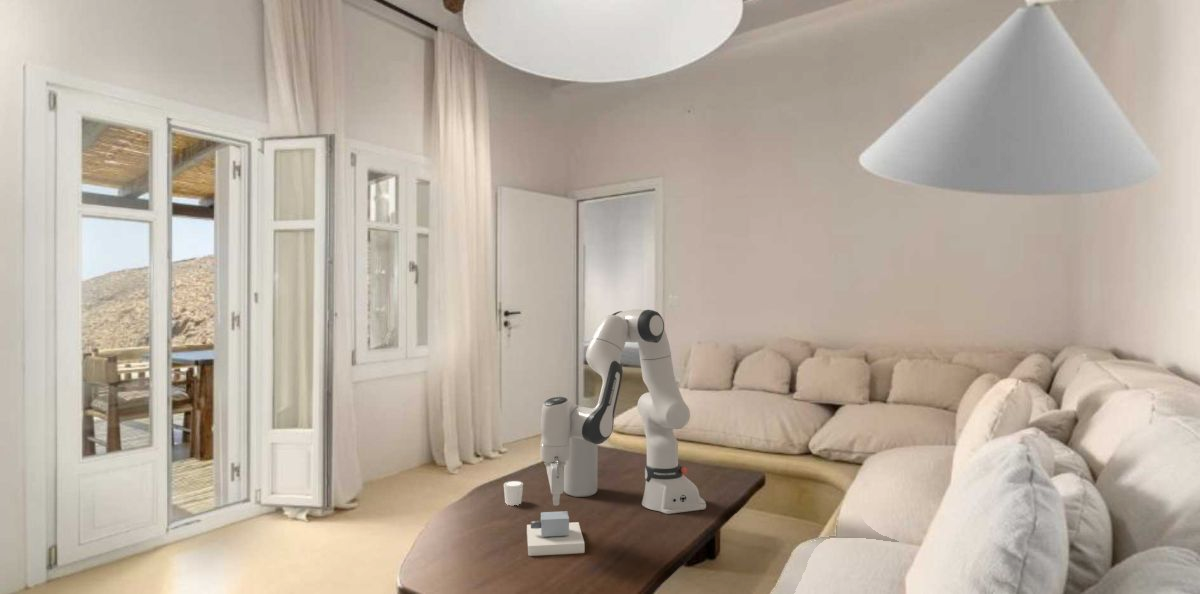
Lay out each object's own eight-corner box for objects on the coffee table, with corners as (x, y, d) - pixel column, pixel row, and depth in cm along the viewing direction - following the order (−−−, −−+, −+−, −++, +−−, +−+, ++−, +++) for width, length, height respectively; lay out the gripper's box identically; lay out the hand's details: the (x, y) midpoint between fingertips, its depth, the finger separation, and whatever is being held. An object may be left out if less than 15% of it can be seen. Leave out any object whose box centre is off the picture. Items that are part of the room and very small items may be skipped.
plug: (566, 537, 184) (567, 511, 184) (568, 545, 178) (569, 518, 178) (530, 539, 182) (530, 512, 182) (531, 547, 176) (531, 520, 176)
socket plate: (578, 531, 189) (578, 519, 189) (584, 552, 174) (584, 540, 173) (526, 533, 187) (526, 522, 187) (528, 555, 171) (528, 543, 171)
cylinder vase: (598, 487, 232) (599, 422, 232) (595, 498, 220) (595, 429, 220) (566, 486, 234) (567, 421, 233) (561, 496, 221) (561, 428, 221)
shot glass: (519, 507, 210) (519, 487, 210) (500, 505, 211) (500, 485, 211) (525, 500, 217) (525, 481, 217) (507, 499, 218) (507, 479, 218)
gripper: (569, 462, 170) (568, 511, 170) (562, 444, 190) (562, 487, 191) (546, 462, 169) (546, 512, 169) (542, 444, 190) (542, 488, 190)
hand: (554, 499), depth 180 cm, fingers open, 8 cm apart
